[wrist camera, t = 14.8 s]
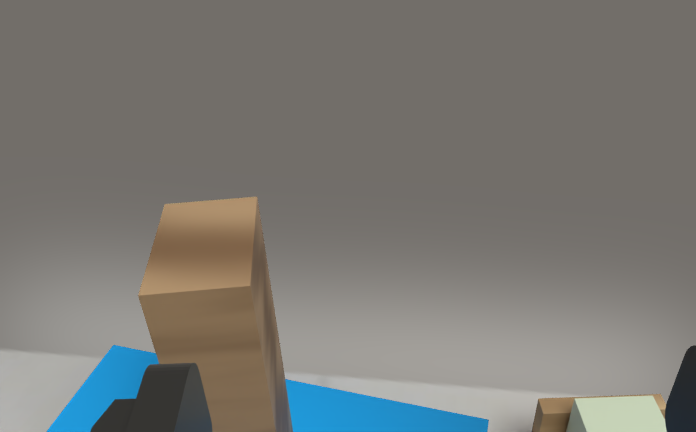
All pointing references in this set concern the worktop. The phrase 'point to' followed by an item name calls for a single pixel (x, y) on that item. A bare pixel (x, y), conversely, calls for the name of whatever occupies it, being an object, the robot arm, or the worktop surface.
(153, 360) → the book
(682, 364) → the robot arm
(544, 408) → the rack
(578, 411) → the offcut upper
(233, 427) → the tall wooden block
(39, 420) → the worktop surface
